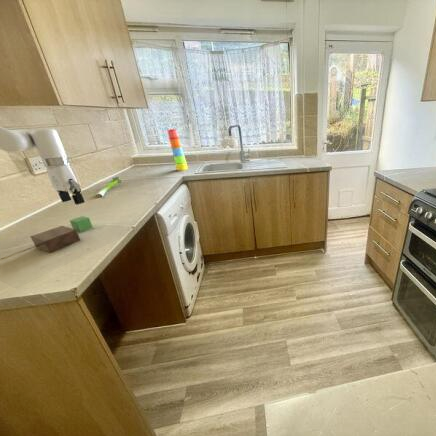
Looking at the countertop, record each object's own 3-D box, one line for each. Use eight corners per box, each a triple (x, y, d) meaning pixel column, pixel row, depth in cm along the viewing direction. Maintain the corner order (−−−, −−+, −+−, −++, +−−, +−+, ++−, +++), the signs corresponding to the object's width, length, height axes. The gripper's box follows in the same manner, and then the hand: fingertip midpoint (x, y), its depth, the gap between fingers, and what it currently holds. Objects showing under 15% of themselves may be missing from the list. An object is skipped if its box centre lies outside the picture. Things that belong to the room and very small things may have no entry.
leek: (94, 200, 151) (113, 183, 177) (107, 200, 153) (124, 183, 179) (91, 191, 148) (111, 175, 174) (104, 191, 150) (122, 175, 176)
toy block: (80, 232, 106) (76, 222, 104) (73, 230, 107) (69, 220, 105) (93, 227, 110) (89, 217, 108) (86, 226, 112) (82, 216, 110)
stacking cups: (191, 170, 216) (181, 128, 202) (180, 172, 209) (169, 130, 195) (184, 168, 222) (175, 128, 208) (174, 171, 215) (163, 130, 201)
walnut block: (50, 253, 90) (44, 241, 88) (35, 247, 94) (29, 236, 92) (80, 240, 99) (76, 229, 97) (66, 236, 103) (61, 225, 101)
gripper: (33, 162, 97) (51, 203, 104) (57, 164, 90) (75, 207, 97) (55, 159, 103) (71, 197, 110) (79, 161, 97) (95, 201, 103)
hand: (73, 202), depth 104 cm, fingers open, 9 cm apart
